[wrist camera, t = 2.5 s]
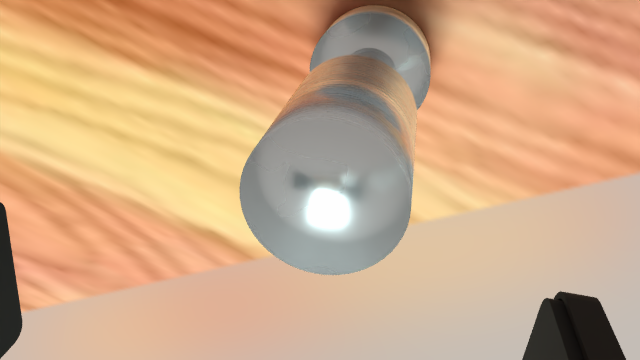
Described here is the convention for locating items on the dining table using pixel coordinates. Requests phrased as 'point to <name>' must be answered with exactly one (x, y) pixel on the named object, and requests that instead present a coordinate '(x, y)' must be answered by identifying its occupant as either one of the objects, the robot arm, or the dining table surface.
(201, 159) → the dining table surface
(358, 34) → the steel peg
